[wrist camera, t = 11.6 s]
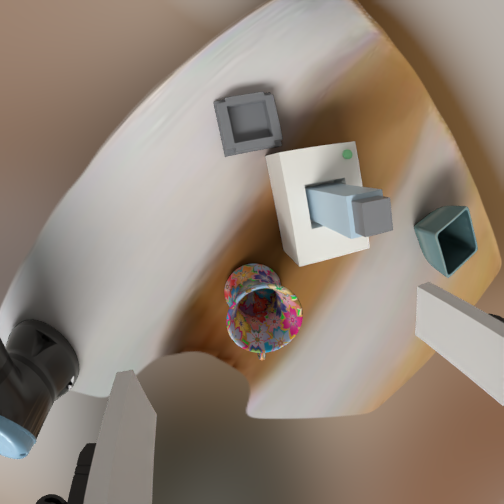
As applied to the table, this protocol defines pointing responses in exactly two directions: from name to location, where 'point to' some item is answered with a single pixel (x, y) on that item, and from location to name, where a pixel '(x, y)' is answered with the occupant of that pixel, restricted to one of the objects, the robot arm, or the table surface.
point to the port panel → (295, 201)
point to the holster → (248, 123)
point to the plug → (350, 209)
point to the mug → (261, 310)
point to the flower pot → (447, 238)
